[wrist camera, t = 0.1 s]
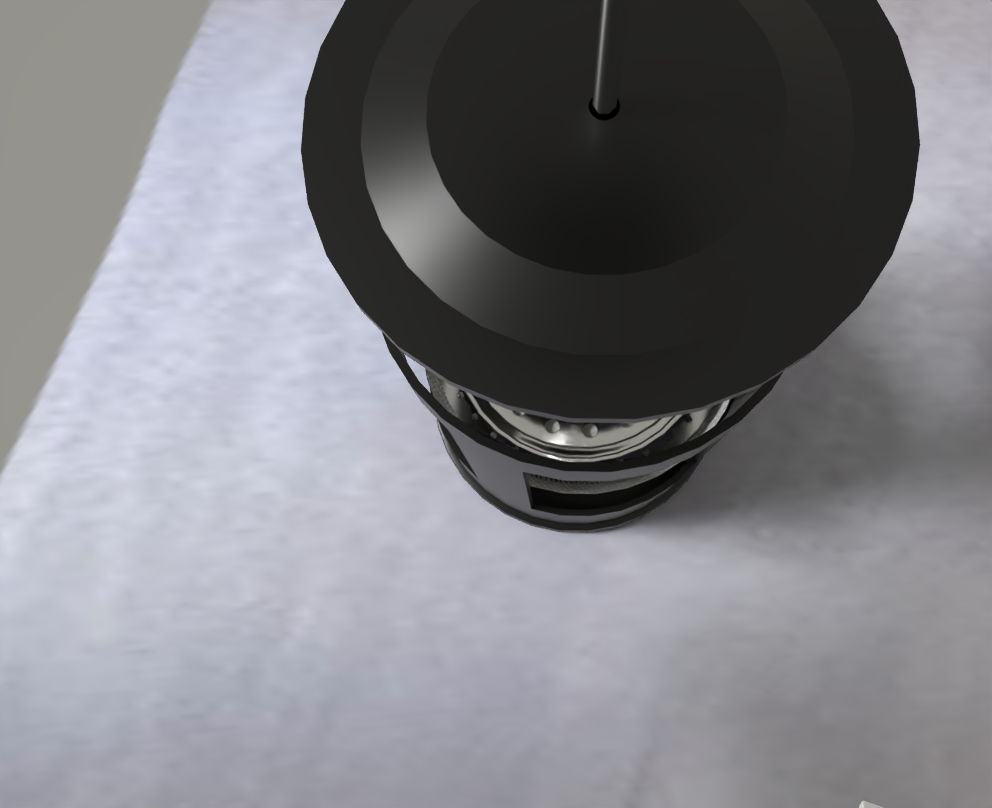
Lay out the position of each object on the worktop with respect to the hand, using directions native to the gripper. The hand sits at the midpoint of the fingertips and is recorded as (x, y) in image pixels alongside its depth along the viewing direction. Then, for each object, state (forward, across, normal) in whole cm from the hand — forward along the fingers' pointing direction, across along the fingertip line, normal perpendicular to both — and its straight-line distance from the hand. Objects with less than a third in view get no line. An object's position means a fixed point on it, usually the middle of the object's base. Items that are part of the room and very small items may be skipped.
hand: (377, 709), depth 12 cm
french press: (+18, 0, +2) cm, 18 cm away
